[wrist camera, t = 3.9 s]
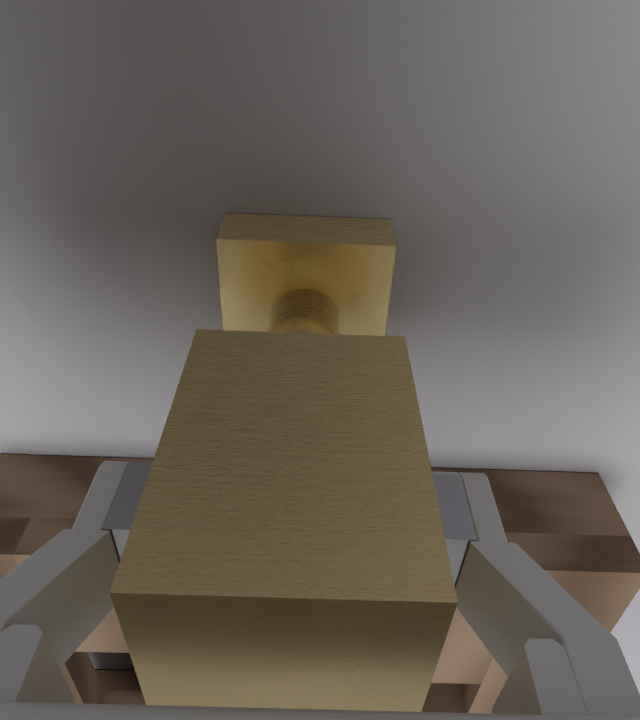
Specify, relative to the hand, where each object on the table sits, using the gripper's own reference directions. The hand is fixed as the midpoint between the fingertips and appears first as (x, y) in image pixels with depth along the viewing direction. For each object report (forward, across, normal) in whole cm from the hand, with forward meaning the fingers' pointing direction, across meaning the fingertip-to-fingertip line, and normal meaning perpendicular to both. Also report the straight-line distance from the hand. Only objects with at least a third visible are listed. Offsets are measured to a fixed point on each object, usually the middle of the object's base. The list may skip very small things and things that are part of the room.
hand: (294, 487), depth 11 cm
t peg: (+8, 0, 0) cm, 8 cm away
